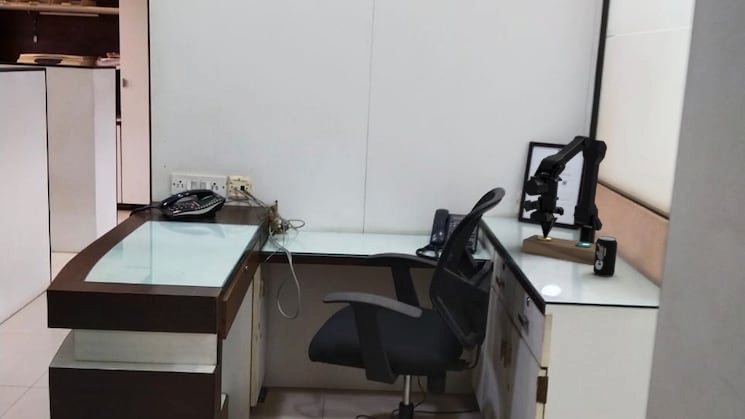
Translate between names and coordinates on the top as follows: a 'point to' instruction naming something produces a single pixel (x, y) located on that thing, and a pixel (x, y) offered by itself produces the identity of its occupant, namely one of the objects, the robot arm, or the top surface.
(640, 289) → the top surface
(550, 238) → the plunger ochre
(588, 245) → the plunger teal
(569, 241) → the walnut block
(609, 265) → the beverage can
